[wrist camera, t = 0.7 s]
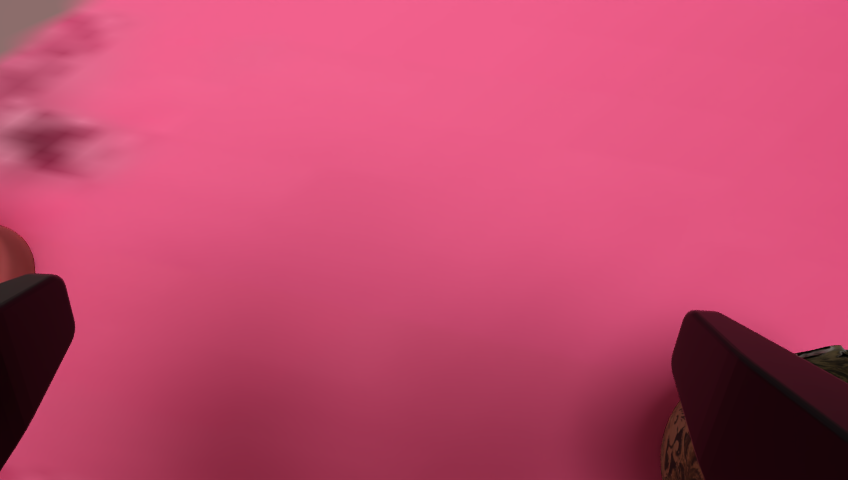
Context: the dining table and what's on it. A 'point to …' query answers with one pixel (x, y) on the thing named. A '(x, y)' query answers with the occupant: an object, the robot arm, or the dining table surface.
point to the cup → (677, 447)
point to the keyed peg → (14, 255)
